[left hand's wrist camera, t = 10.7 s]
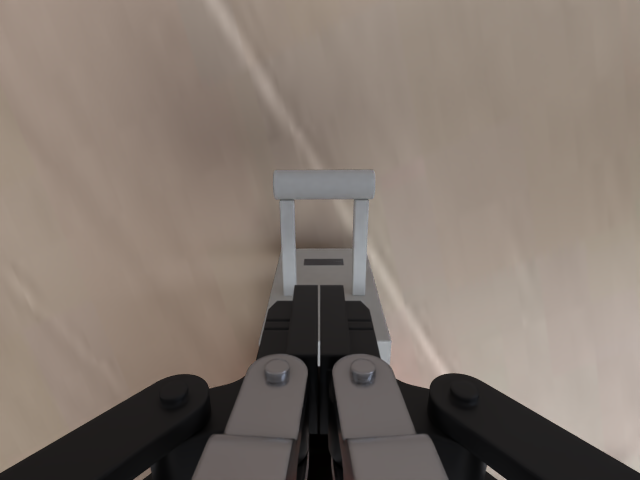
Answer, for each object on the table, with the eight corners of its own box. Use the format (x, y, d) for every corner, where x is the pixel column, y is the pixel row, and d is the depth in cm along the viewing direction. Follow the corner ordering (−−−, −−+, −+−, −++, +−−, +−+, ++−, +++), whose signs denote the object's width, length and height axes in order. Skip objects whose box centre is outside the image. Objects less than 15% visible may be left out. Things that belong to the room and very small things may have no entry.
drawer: (277, 150, 22) (247, 192, 13) (369, 150, 22) (402, 192, 13) (289, 442, 30) (276, 593, 21) (358, 442, 30) (374, 592, 21)
